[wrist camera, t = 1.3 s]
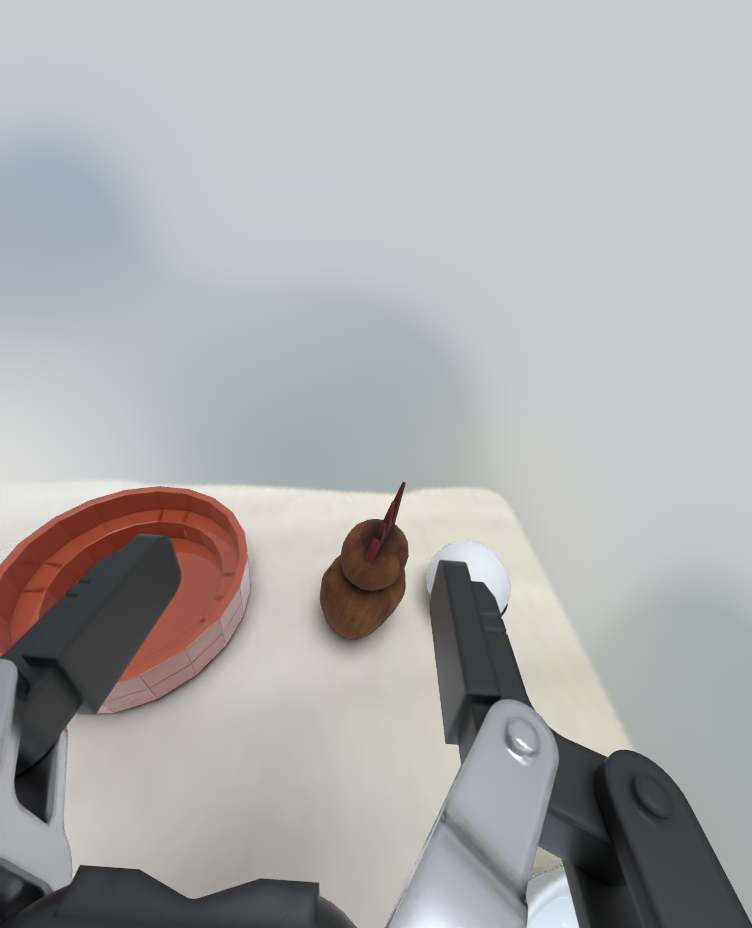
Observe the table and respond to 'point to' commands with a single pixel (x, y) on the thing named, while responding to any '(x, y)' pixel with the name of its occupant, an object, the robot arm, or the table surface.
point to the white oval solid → (476, 568)
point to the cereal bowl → (550, 901)
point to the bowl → (109, 529)
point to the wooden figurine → (366, 576)
